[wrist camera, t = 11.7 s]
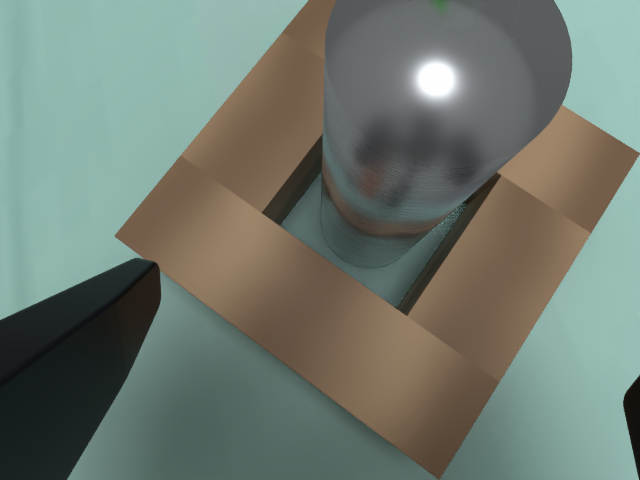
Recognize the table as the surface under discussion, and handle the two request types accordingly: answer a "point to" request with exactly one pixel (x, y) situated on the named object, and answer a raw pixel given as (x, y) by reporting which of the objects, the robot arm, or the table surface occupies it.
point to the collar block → (344, 291)
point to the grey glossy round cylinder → (428, 111)
